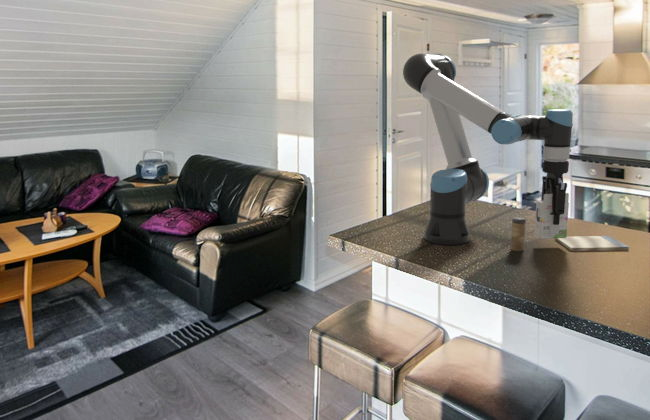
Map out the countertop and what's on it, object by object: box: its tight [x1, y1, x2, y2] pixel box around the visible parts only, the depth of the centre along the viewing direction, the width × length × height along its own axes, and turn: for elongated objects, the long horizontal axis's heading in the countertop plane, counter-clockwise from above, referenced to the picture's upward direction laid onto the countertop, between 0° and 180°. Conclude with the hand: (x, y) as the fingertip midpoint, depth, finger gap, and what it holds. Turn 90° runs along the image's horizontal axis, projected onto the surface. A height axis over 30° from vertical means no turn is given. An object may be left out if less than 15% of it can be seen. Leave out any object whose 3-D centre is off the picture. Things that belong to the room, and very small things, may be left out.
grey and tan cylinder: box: [509, 217, 527, 252], centre depth 165 cm, size 4×4×10 cm
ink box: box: [534, 192, 570, 240], centre depth 166 cm, size 9×5×15 cm, turn 91°
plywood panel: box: [554, 235, 630, 252], centre depth 168 cm, size 18×12×1 cm, turn 89°
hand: (550, 231), depth 167 cm, fingers closed on ink box, 5 cm apart
